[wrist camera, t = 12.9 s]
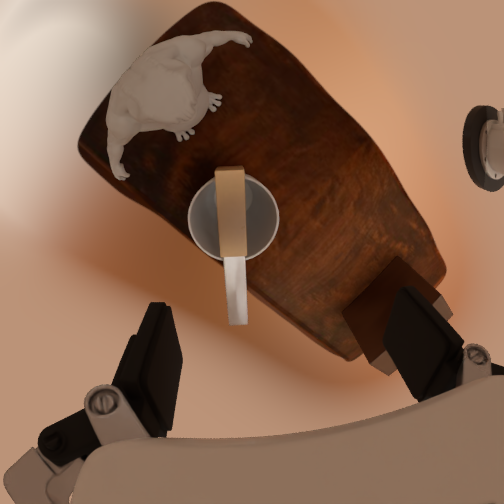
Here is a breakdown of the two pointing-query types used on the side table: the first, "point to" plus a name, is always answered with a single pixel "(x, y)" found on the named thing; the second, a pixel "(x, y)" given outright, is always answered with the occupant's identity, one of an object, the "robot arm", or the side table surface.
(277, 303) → the side table surface
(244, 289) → the knife
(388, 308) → the dark rectangular block
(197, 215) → the cup
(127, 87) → the figurine
